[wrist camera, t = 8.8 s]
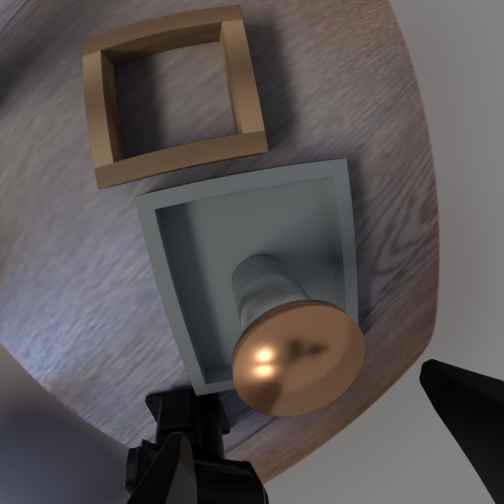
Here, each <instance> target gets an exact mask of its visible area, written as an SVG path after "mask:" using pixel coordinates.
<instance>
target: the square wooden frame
mask: <svg viewBox="0 0 504 504" xmlns="http://www.w3.org/2000/svg"><path fill="white" fill-rule="evenodd" d="M215 41H220V46H221V52H222V57H223V62H224V68H225V73H226V79H227V84H228V90H229V95H230V101H231V106H232V112H233V117H234V123H235V128H236V134H237V135H231V136H225V137H220V138H214V139H209V140H204V141H199V142H194V143H189V144H185V145H180V146H176V147H171V148H167V149H163V150H159V151H155V152H151V153H147V154H143V155H139V156H136V157H132V158H128V159H126V156H125V150H124V144H123V138H122V131H121V125H120V118H119V110H118V102H117V94H116V84H115V74H114V65H115V64H118V63H121V62H125V61H128V60H131V59H135V58H138V57H142V56H146V55H150V54H154V53H158V52H162V51H166V50H171V49H175V48H180V47H185V46H191V45H196V44H202V43H208V42H215ZM82 64H83V82H84V96H85V106H86V116H87V124H88V132H89V139H90V146H91V152H92V158H93V164H94V170H95V175H96V180H97V185H98V189H103V188H108V187H113V186H117V185H121V184H124V183H128V182H131V181H135V180H139V179H143V178H147V177H151V176H155V175H159V174H163V173H167V172H172V171H176V170H180V169H185V168H189V167H194V166H199V165H204V164H209V163H214V162H219V161H224V160H230V159H235V158H241V157H247V156H253V155H259V154H262V153H265V152H268V146H267V140H266V135H265V129H264V124H263V118H262V113H261V107H260V102H259V97H258V92H257V87H256V82H255V76H254V71H253V67H252V62H251V57H250V52H249V47H248V42H247V38H246V33H245V28H244V24H243V19H242V15H241V10H240V6H239V5H235V6H224V7H215V8H208V9H201V10H194V11H188V12H183V13H177V14H173V15H168V16H163V17H159V18H155V19H151V20H147V21H143V22H139V23H135V24H132V25H129V26H125V27H122V28H119V29H116V30H113V31H110V32H107V33H104V34H101V35H98V36H95V37H93V38H90V39H88V40H85V41H83V42H82Z"/></svg>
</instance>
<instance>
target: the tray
mask: <svg viewBox="0 0 504 504" xmlns="http://www.w3.org/2000/svg"><path fill="white" fill-rule="evenodd" d="M135 200H136V204H137V209H138V213H139V217H140V222H141V226H142V230H143V234H144V238H145V242H146V246H147V249H148V253H149V257H150V261H151V264H152V268H153V271H154V275H155V278H156V282H157V285H158V288H159V292H160V295H161V298H162V301H163V305H164V308H165V311H166V314H167V317H168V320H169V323H170V326H171V329H172V332H173V335H174V338H175V341H176V343H177V346H178V349H179V352H180V355H181V357H182V360H183V363H184V365H185V368H186V371H187V373H188V376H189V378H190V381H191V383H192V386H193V388H194V391H195V393H196V396H198V395H204V394H210V393H216V392H222V391H227V390H232V389H236V388H235V385H234V380H233V374H232V367H231V360H232V353H233V350H234V347H235V345H236V343H237V341H238V339H239V337H240V336H241V334H242V329H241V325H240V321H239V317H238V312H237V308H236V304H235V299H234V295H233V291H232V286H231V280H232V275H233V272H234V270H235V268H236V267H237V266H238V264H239V263H240V262H241V261H243V260H244V259H246V258H247V257H250V256H252V255H256V254H267V255H271V256H273V257H275V258H277V259H278V260H279V261H280V262H281V263H282V264H283V265H284V266H285V267H286V269H287V270H288V271H289V272H290V273H291V275H292V276H293V277H294V278H295V280H296V281H297V282H298V283H299V285H300V286H301V287H302V288H303V290H304V291H305V292H306V293H307V294H308V296H309V297H310V298H311V299H316V300H322V301H327V302H330V303H332V304H335V305H336V306H338V307H340V308H341V309H343V310H344V311H345V312H346V313H347V314H348V315H349V316H350V317H351V318H352V319H353V320H354V321H355V322H356V324H357V325H358V285H357V262H356V245H355V232H354V220H353V209H352V200H351V191H350V182H349V174H348V167H347V160H346V159H329V160H321V161H313V162H305V163H298V164H291V165H284V166H278V167H271V168H265V169H259V170H253V171H247V172H242V173H236V174H231V175H226V176H221V177H215V178H210V179H206V180H201V181H196V182H191V183H187V184H182V185H178V186H173V187H169V188H165V189H160V190H156V191H152V192H148V193H144V194H141V195H139V196H136V197H135Z"/></svg>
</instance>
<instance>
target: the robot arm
mask: <svg viewBox="0 0 504 504" xmlns="http://www.w3.org/2000/svg"><path fill="white" fill-rule="evenodd" d="M420 383H421V385H422V387H423V388H424V390H425V392H426V394H427V396H428V398H429V400H430V402H431V403H432V405H433V407H434V409H435V410H436V412H437V414H438V415H439V417H440V418H441V419H442V421H443V422H444V424H445V425H446V427H447V428H448V430H449V431H450V432H451V434H452V435H453V437H454V438H455V440H456V441H457V443H458V444H459V446H460V447H461V449H462V450H463V452H464V453H465V455H466V456H467V458H468V459H469V461H470V463H471V464H472V466H473V467H474V469H475V471H476V472H477V474H478V475H479V477H480V478H481V480H482V482H483V483H484V485H485V487H486V488H487V490H488V492H489V493H490V495H491V497H492V498H493V500H494V502H495V504H504V381H502V380H499V379H495V378H492V377H489V376H485V375H482V374H479V373H475V372H472V371H469V370H465V369H462V368H459V367H455V366H453V365H450V364H447V363H444V362H440V361H437V360H434V359H430V360H428V361H426V362H424V363H423V364H422V368H421V373H420ZM150 400H152V401H150ZM145 402H146V404H147V406H148V408H149V410H150V411H151V413H152V415H153V417H154V419H155V420H156V422H157V429H156V438H155V444H153V443H150V442H149V441H147V440H143V439H142V442H141V445H140V446H138V447H136V448H130V449H129V451H128V456H127V461H126V468H125V479H124V489H125V490H126V492H127V493H128V494H129V497H130V498H129V500H128V501H127V503H126V504H269V501H268V495H267V493H266V490H265V488H264V487H263V485H262V483H261V481H260V480H259V478H258V476H257V474H256V472H255V471H254V469H253V467H252V465H251V463H250V462H249V461H234V460H227V459H225V456H224V447H223V438H222V435H225V434H229V433H230V426H229V423H228V421H227V418H226V415H225V413H224V410H223V407H222V405H221V402H220V399H219V396H218V393H217V392H216V393H210V394H204V395H198V396H196V393H195V391H194V389H192V390H185V391H178V392H170V393H162V394H154V395H147V396H146V399H145Z"/></svg>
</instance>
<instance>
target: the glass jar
mask: <svg viewBox="0 0 504 504" xmlns="http://www.w3.org/2000/svg"><path fill="white" fill-rule="evenodd" d="M231 286H232V291H233V295H234V299H235V304H236V308H237V312H238V317H239V321H240V325H241V329H242V334H241V336H240V337H239V339H238V341H237V343H236V345H235V347H234V350H233V353H232V360H231V367H232V374H233V380H234V385H235V388H236V391H237V393H238V395H239V396H240V398H241V399H242V400H243V401H244V402H245V403H246V404H247V405H248V406H249V407H251V408H253V409H254V410H256V411H258V412H261V413H263V414H267V415H272V416H281V417H287V416H297V415H302V414H306V413H310V412H312V411H315V410H318V409H320V408H322V407H324V406H326V405H328V404H329V403H331V402H332V401H334V400H335V399H337V398H338V397H339V396H340V395H342V394H343V393H344V392H345V391H346V390H347V389H348V388H349V387H350V385H351V384H352V383H353V382H354V380H355V379H356V377H357V376H358V374H359V372H360V370H361V368H362V365H363V362H364V358H365V351H366V347H365V339H364V336H363V333H362V331H361V329H360V327H359V326H358V325H357V324H356V322H355V321H354V320H353V319H352V318H351V317H350V316H349V315H348V314H347V313H346V312H345V311H344V310H343V309H341V308H340V307H338V306H336V305H335V304H332V303H330V302H327V301H322V300H316V299H311V298H310V297H309V296H308V294H307V293H306V292H305V291H304V290H303V288H302V287H301V286H300V285H299V283H298V282H297V281H296V280H295V278H294V277H293V276H292V275H291V273H290V272H289V271H288V270H287V269H286V267H285V266H284V265H283V264H282V263H281V262H280V261H279V260H278V259H277V258H275V257H273V256H271V255H267V254H256V255H252V256H250V257H247V258H246V259H244V260H243V261H241V262H240V263H239V264H238V266H237V267H236V268H235V270H234V272H233V275H232V280H231Z"/></svg>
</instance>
